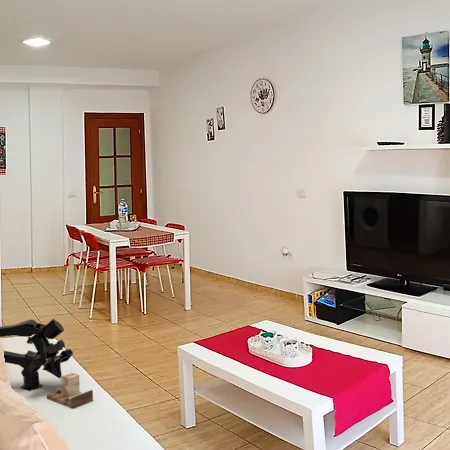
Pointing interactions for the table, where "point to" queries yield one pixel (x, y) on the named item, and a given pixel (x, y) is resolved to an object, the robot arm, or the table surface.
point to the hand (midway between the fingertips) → (60, 377)
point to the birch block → (70, 384)
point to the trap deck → (71, 398)
